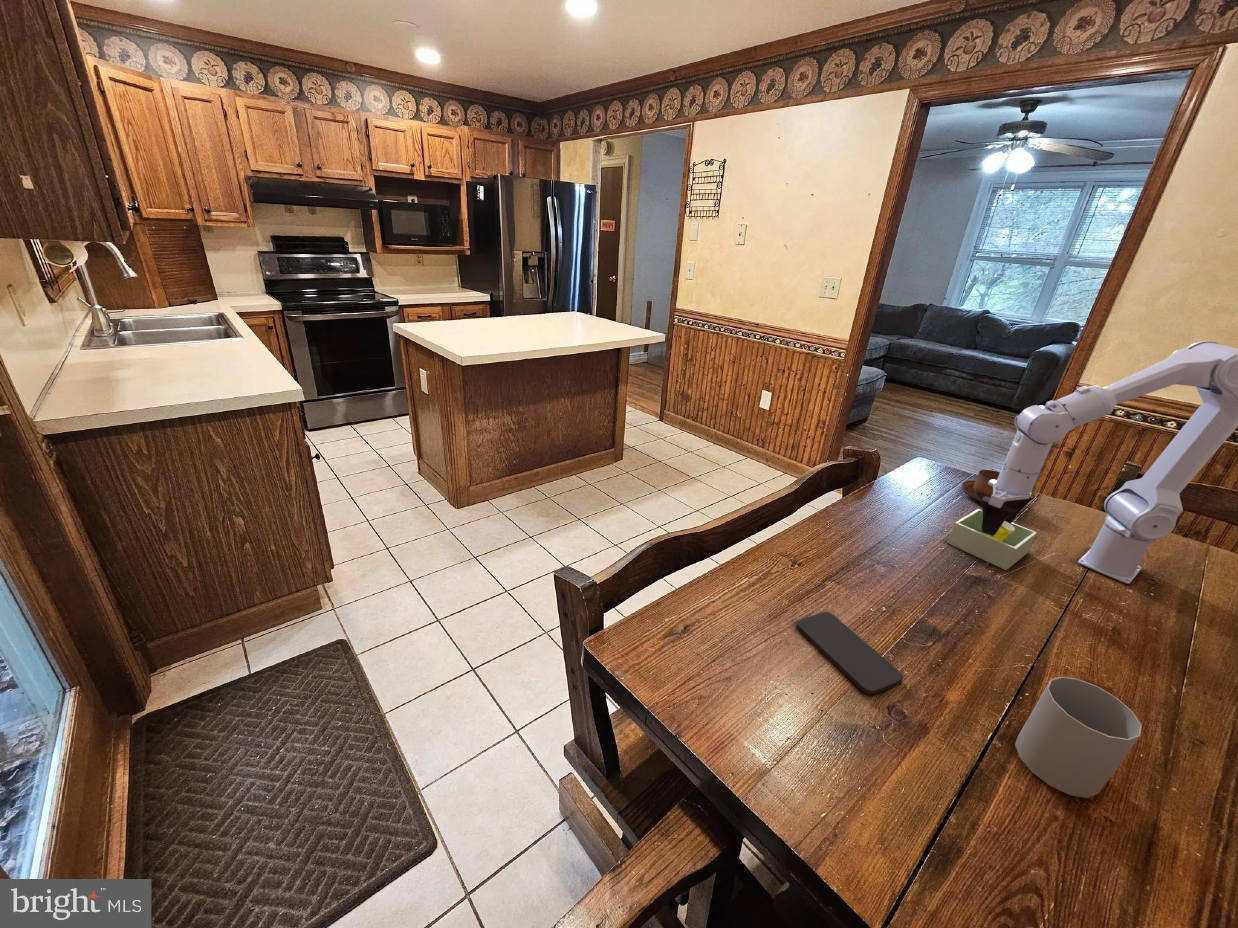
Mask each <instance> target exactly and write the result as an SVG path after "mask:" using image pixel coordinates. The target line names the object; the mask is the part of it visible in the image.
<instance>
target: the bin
mask: <svg viewBox="0 0 1238 928" xmlns="http://www.w3.org/2000/svg"><path fill="white" fill-rule="evenodd" d="M982 520H983V510H982V509H980V508H977V509H975V510H974V511H972V512H969V514H967V515H965V516H963V517H961V518H960V519H958V520H957V521H955V522H954V523H953V527H952V528H951V531H950V533H949V537H948V539H947V541H946V543H947V544H949V545H951V546H953V547H955V548H957V549H960V550H962V551H964V552H966V553H968V554H970V555H972V556H974V557H976V558H978V559H980V560H983V561H985V562H987V563H989V564H991V565H994V566H996V567H998V568H1001V569H1002V570H1004V571H1007V570H1009V569H1010V568H1011V567H1012V566H1013V565H1014V564H1016V563H1018V561H1020V560H1021V559H1022V558H1023V557H1024V556H1026V555H1027V554H1028V553H1029V552H1030V551H1029V550H1030V549H1031V547H1032V544H1033V542H1034V540H1035V539H1036V537H1037V534H1038V532H1036V531H1034V530H1032V529H1030V528H1027V527H1024V526H1022V525H1019V524H1017V523H1015V522H1013V521H1012V522H1011V523H1010V524H1011V525H1012V526H1013V527H1014V528H1015V530H1014V531H1013V532H1012V533H1010V534H1009V535H1008V537H1007V538H1005V539H1004V540H1003V541H1002V542H1001V541H999V540H996V539H994V538H992V537H989V536H987V535H988V534H986V533H984V532H982Z"/></svg>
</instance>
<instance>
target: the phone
mask: <svg viewBox="0 0 1238 928" xmlns="http://www.w3.org/2000/svg"><path fill="white" fill-rule="evenodd" d="M796 628H797V630H798V631H799V632H800V633H801V634H802V635H803V636H805V638H807V639H808V641H810V642H811V643H812V644H813V645H814V646H815V647H816V648H817V649H818V650H819V651H820V652H821V653H822V654H823V655H824V656H825V657H826V658H827V659H829V661H831V662H832V663H833V664H834V665H835V666H836V667H837V668H838V669H839V670H840V671H841V672H842V673H843V674H844V675H845V676H846V677H847V678H848V679H849V680H851V682H852V683H854V684H855V686H857V687H858V689H860V690H861V691H862V692H864V693H865V694H867V695H876V694H879V693H881V692H883V691H885V690H887V689H890V688H893V687H895V686H897V685H899V684H901V683H902V682H903V679H904V676H903V674H902V673H901V671H900V670H898V669H897V668H896V667H895V666H894V665H892V664H891V662H889V661H888V660H887V659H886V658H884V657H883V656H882V655H881V654H879V652H878V651H876V650H875V649H874V648H873V647H872V646H871V645H869V644H868V643H867V642H866V641H865V640H863V639H862V638H861V637H860V636H858V635H857V634H856V633H855V632H854V631H853V630H851V628H849V626H847V625H846V624H845V623H844V622H842V621H841V620H840V619H839V618H838V617H837V616H835V614H832V613H831V612H828V611H823V612H820V613H819V612H818V613H816V614H814V615H811V616H807V617H805V618H801V619H799V620H798V621H797V622H796Z"/></svg>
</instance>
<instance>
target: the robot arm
mask: <svg viewBox="0 0 1238 928" xmlns="http://www.w3.org/2000/svg"><path fill="white" fill-rule="evenodd" d="M1174 385H1175V386H1176V385H1178V386H1187V387H1195V388H1196V390H1197V392H1198V394H1199V397H1200V398H1201V400H1202V403H1201V404H1200V405H1199V407H1198V408H1197V409H1196V410H1195V411H1194V413H1193V414H1192V415H1191V416H1190V417H1189V419H1188V420H1187V422H1186V423H1185V424H1184V425H1183V426H1182V428H1181V429H1180V430H1179V431H1178V432H1177V434H1176V435H1175V436H1174V438H1173V439H1172V440H1171V441H1170V442H1169V444H1167V446H1166V447H1165V448H1164V450H1163V451H1162V452H1161V453H1160V455H1158V457H1157V458H1156V459H1155V461H1154V462H1153V463H1152V464H1151V466H1150V467H1149V468H1148V470H1146V472H1145V473H1144V474H1143V475H1142V477H1140V478H1137V479H1133V480H1127V481H1125V483H1123V485H1122V486H1121V487H1120V488H1119V489H1117V490H1115V491H1114V492H1111V493H1110V494H1109V495H1108V496H1107V498H1105V500H1104V503H1103V509H1104V511H1105V512H1106V515H1105V517H1104V519H1105V521H1104V523H1103V525H1102V527H1101V529H1100V530H1099V532H1098V534H1097V535H1096V538H1095V540H1094V542H1093V543H1092V545H1091V547H1090V548H1089V550H1088V551H1087V552H1085V554H1084V555H1083V556H1082V557H1080V559H1079V560H1078V561H1077V563H1078V564H1079V565H1081V566H1083V567H1086V568H1088V569H1090V570H1092V571H1094V572H1096V573H1100V574H1102V575H1105V576H1107V577H1109V578H1111V579H1114V580H1117V581H1119V582H1121V583H1123V584H1126V585H1130V584H1131V583H1132V581H1133V580H1134V579H1135V577H1136V576H1137V575H1138V574H1139V573H1140V572H1141V570H1142V569H1143V567H1142V566H1141V565H1140V563H1141V562H1142V561H1143V559H1144V557H1145V555H1146V553H1147V552H1148V550H1149V548H1150V546H1151V545H1152V543H1153V542H1154V543H1155V542H1157V540H1160V539H1163V538H1165V537H1167V536H1169V535H1170V534H1171V533H1172V532H1173V531H1174V529H1175V528H1176V526H1177V525H1176V524H1177V519H1178V517H1179V516H1180V515H1181V513H1183V505H1182V501H1181V495H1180V494H1181V493H1182V492H1183V490H1184V489H1185V488H1186V487H1187V486H1188V484H1189V483H1190V482H1191V481H1192V480H1193V479H1194V478H1195V476H1196V475H1197V474H1198V473H1199V472H1200V471H1201V469H1202V468H1204V466H1205V465H1206V464H1207V462H1208V461H1209V460H1210V459H1211V458H1212V457H1213V456H1214V455H1215V453H1216V452H1217V451H1218V450H1219V448H1221V446H1223V444H1224V443H1225V442H1226V440H1227V439H1228V438H1229V437H1230V436H1231V435H1232V434H1233V433H1234V431H1235V430H1236V429H1237V428H1238V348H1236V347H1233V346H1229V345H1225V344H1222V343H1219V342H1217V341H1213V340H1201V341H1198V342H1195V343H1193V344H1191V345H1189V346H1187V347H1183V348H1180V349H1177V350H1174V351H1173V352H1171V354H1170V355H1169V356H1168V357H1167V358H1165V359H1163V360H1161V361H1158V362H1156V363H1154V364H1152V365H1150V366H1148V367H1146V368H1143V369H1142V370H1139V371H1137V372H1135V373H1133V374H1131V375H1128V376H1126V377H1124V378H1122V379H1119V380H1117V381H1116V382H1113V383H1110V384H1109V385H1106V386H1102V387H1101V386H1098V385H1090V386H1087V385H1082V386H1079V387H1078V388H1076V391H1075V392H1072V393H1070V394H1068V395H1065V396H1063V397H1060V398H1058V399H1055V400H1053V399H1052V400H1049V401H1047V402H1046V403H1045V405H1042V404H1040V405H1038V404H1035V405H1031V406H1028V407H1026V408H1024V409H1023V410H1022V411H1021V412H1020V413H1019V415H1016V416H1015V417H1014V426H1015V428H1016V433H1015V435H1014V438H1013V440H1012V442H1011V445H1010V446H1009V447H1010V448H1009V450H1008V453H1007V455H1006V457H1005V459H1004V462H1003V465H1002V467H1001V469H1000V471H999V472H1000V474H999V476H998V479H997V480H994V479H992V480H990V481H989V482H988V484H989V485H991V486H993V495H992V496H991V498H989V497H986V496H985V497H983V498H982V499H981V501H980V506H981V510H982V511H983V520H982V532H984V533H986V534H989V535H991V536H993V535H995V534H996V533H997V531H998V530H999V528H1000V527H1001V525H1002V524H1003V522H1004V521H1006V522H1008V523H1011V522H1012V523H1013V521H1014V520H1015V519H1016V517H1017V516H1018V515H1019V513H1021V511H1022V510H1023V509H1024V508H1025V507H1026V506H1027V505H1028V504H1029V503H1030V502H1032V501H1033V500H1035V498H1036V496H1035V494H1033V493H1032V491H1033V488H1034V486H1035V484H1036V483H1037V480H1038V478H1039V476H1040V473H1041V471H1042V469H1043V467H1044V464H1045V462H1046V460H1047V458H1048V456H1049V453H1050V451H1051V449H1052V447H1053V444H1054V443H1057V442H1060V441H1062V439H1064V438H1065V436H1066V435H1067V434H1068V433H1069V432H1070V431H1073V429H1074V428H1077V427H1080V426H1083V425H1085V424H1088V423H1090V422H1093V421H1095V420H1098V419H1101V418H1104V417H1105V416H1109V415H1110V414H1112V412H1113V411H1114V409H1115V407H1116V406H1117V405H1118V404H1121V403H1124V402H1127V401H1131V400H1133V399H1136V398H1139V397H1142V396H1145V395H1148V394H1151V393H1153V392H1156V391H1159V390H1162V389H1163V390H1164V389H1165V388H1169V387H1171V386H1174Z"/></svg>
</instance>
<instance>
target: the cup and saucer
mask: <svg viewBox="0 0 1238 928" xmlns="http://www.w3.org/2000/svg"><path fill="white" fill-rule="evenodd" d="M1000 472H1001V471H997V470H992V469H981V470H979V471H978V473H977V476H976V479H975V480H966V481H964V482H962V483H961V488H962V491H963V492H964V493H965V494H966V495H968V496H969V497H970V498H972V499H974V500H976V501H979V502H981V499H982V498H983V497H985V496H986V497H989V498H991V496H992V495H993V486H991V485H989V484H988V482H989V481H990V480H992V479H994V480H997V479H998V476H999V474H1000Z"/></svg>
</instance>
